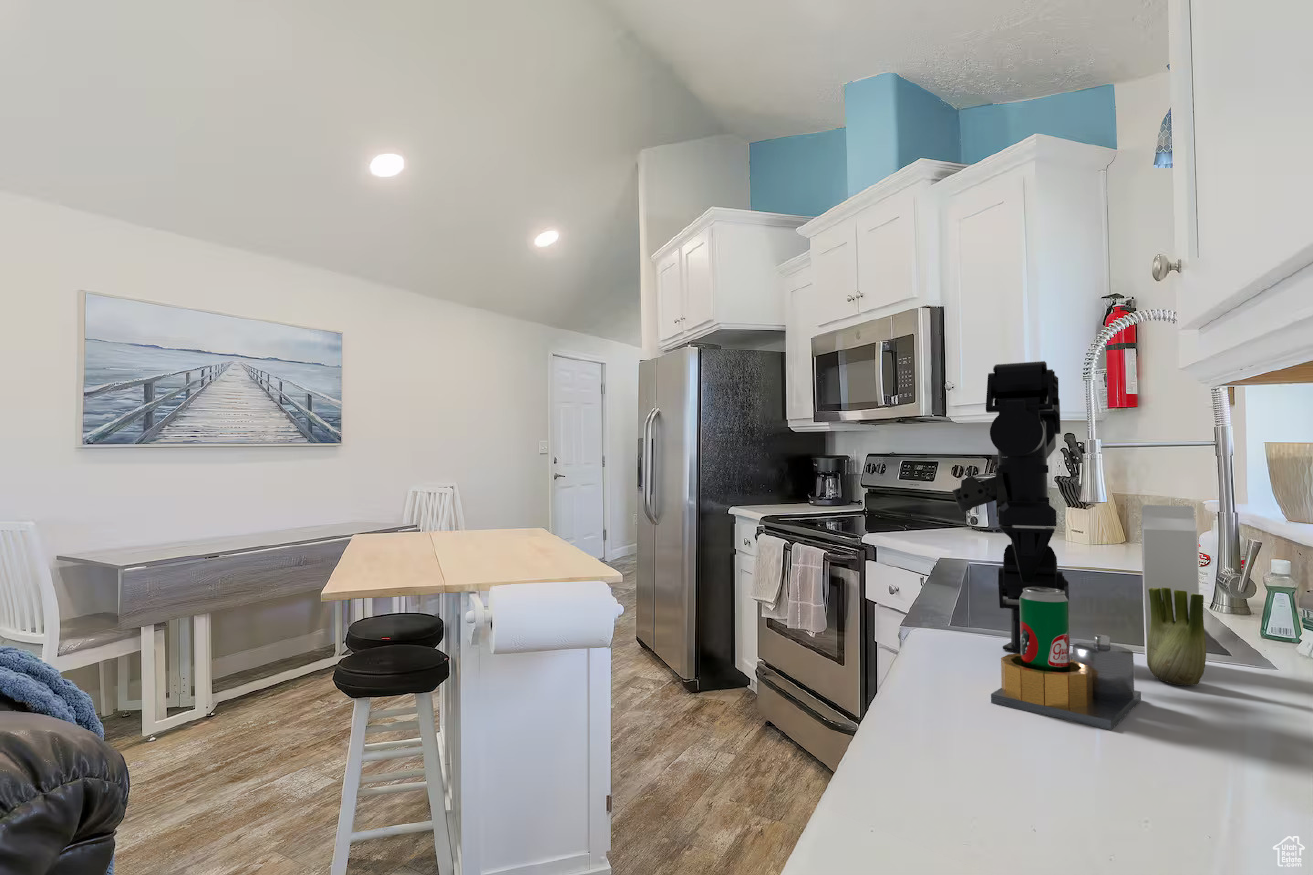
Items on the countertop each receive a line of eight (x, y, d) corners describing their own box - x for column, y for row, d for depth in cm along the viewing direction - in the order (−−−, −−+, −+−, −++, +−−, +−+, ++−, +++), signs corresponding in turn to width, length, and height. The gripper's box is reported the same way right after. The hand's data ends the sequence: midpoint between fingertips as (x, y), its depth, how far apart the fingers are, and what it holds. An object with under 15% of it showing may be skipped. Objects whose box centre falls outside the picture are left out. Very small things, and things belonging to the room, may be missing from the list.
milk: (1201, 673, 94) (1197, 507, 94) (1146, 666, 97) (1142, 505, 98) (1196, 662, 99) (1192, 504, 100) (1143, 656, 102) (1140, 503, 103)
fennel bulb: (1213, 689, 87) (1210, 591, 87) (1177, 691, 86) (1174, 592, 87) (1173, 675, 93) (1170, 583, 93) (1139, 677, 92) (1136, 584, 92)
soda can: (1059, 703, 78) (1056, 595, 79) (1013, 692, 82) (1011, 588, 83) (1079, 694, 82) (1076, 590, 82) (1033, 684, 86) (1031, 584, 86)
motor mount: (1030, 678, 91) (1029, 619, 92) (1141, 700, 83) (1139, 635, 83) (991, 702, 82) (989, 637, 82) (1111, 730, 73) (1109, 657, 74)
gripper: (957, 458, 105) (959, 564, 104) (952, 456, 88) (955, 583, 87) (1043, 458, 100) (1045, 569, 99) (1055, 456, 83) (1058, 589, 82)
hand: (1024, 576), depth 92 cm, fingers open, 9 cm apart
